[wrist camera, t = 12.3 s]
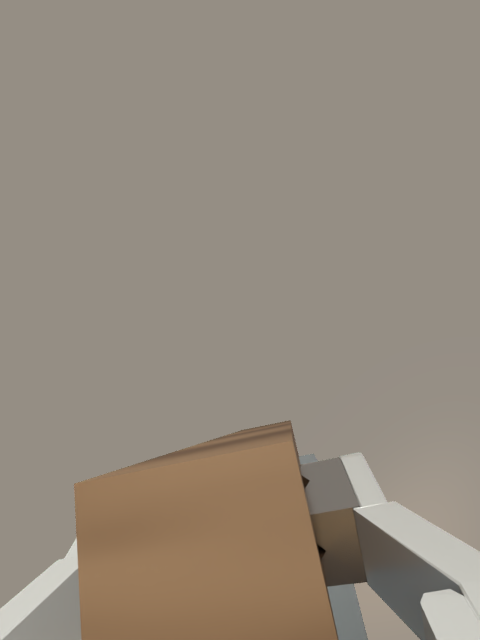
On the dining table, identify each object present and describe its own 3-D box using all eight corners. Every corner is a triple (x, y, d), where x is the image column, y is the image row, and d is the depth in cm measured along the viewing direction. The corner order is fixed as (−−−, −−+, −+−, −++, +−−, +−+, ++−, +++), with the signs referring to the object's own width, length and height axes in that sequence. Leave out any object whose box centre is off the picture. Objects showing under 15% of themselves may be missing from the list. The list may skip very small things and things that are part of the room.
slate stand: (387, 754, 34) (313, 453, 43) (465, 1027, 19) (326, 476, 27) (319, 763, 35) (259, 464, 43) (342, 1035, 20) (242, 492, 28)
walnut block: (361, 745, 4) (292, 440, 5) (87, 779, 4) (74, 483, 5) (302, 472, 23) (290, 420, 24) (252, 482, 23) (242, 430, 24)
